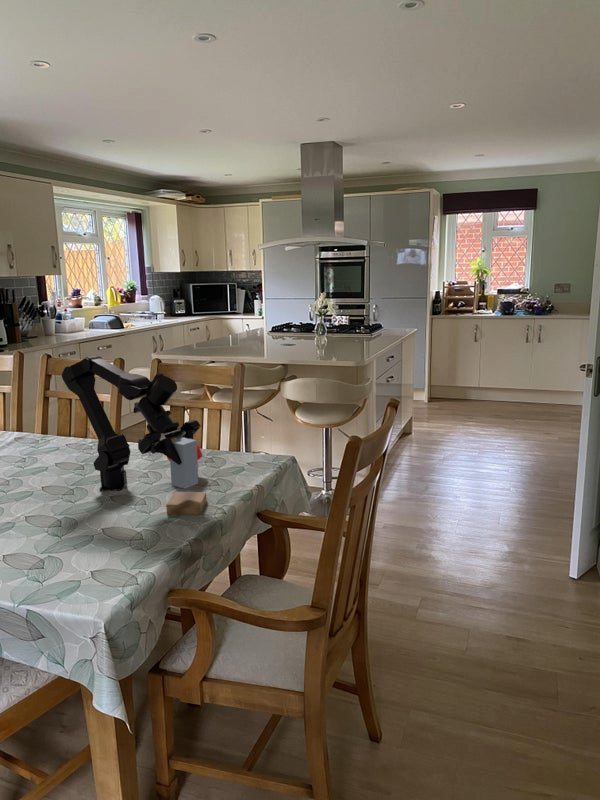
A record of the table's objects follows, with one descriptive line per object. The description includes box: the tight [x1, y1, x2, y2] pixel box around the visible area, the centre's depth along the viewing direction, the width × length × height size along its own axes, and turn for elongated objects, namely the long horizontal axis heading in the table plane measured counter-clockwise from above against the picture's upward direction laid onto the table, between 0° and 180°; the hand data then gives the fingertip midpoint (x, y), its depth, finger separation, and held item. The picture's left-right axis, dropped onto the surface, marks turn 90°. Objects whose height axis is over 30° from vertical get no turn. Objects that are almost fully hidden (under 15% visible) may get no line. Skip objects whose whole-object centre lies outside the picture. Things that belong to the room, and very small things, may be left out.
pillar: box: [169, 437, 199, 490], centre depth 159 cm, size 5×5×12 cm
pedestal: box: [166, 491, 208, 515], centre depth 162 cm, size 9×9×3 cm
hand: (187, 461), depth 158 cm, fingers closed on pillar, 5 cm apart
